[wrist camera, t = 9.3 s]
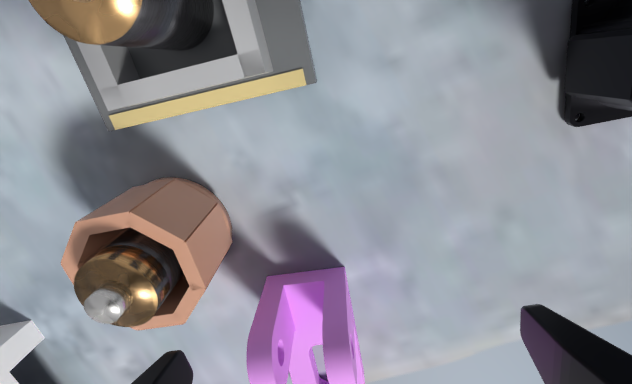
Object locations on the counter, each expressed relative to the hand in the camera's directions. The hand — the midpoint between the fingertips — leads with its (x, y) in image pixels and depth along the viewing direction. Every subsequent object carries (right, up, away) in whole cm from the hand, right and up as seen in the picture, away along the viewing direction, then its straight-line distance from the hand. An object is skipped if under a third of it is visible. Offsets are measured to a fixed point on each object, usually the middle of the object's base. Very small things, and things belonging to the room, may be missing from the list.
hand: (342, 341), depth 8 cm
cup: (-10, +2, +13) cm, 16 cm away
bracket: (0, -7, +16) cm, 18 cm away
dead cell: (-10, +1, +12) cm, 16 cm away
